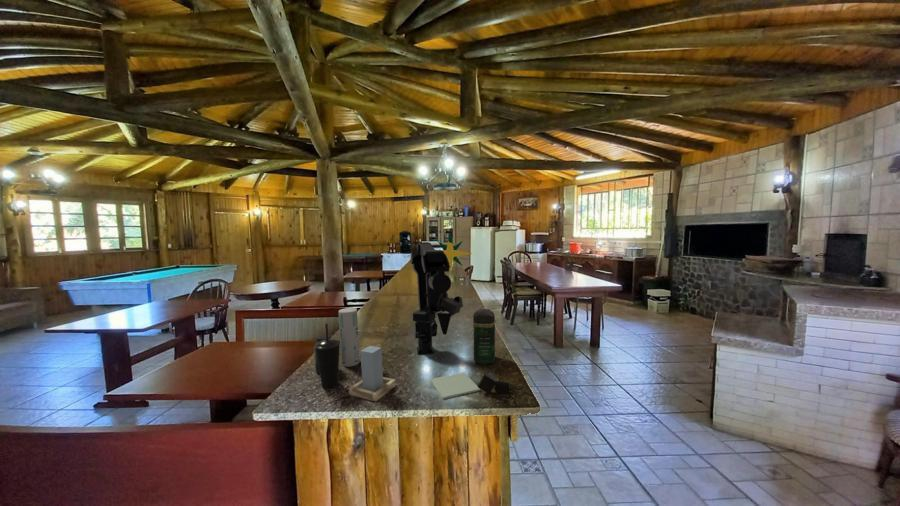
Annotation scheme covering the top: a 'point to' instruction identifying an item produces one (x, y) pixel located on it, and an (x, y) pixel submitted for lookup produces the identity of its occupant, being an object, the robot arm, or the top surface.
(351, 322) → the spray can
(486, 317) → the coffee jar
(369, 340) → the top surface
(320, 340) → the supplement bottle
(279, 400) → the top surface
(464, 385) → the mat
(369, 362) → the post
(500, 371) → the top surface
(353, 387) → the pocket
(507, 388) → the lighter
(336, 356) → the drinking cup
